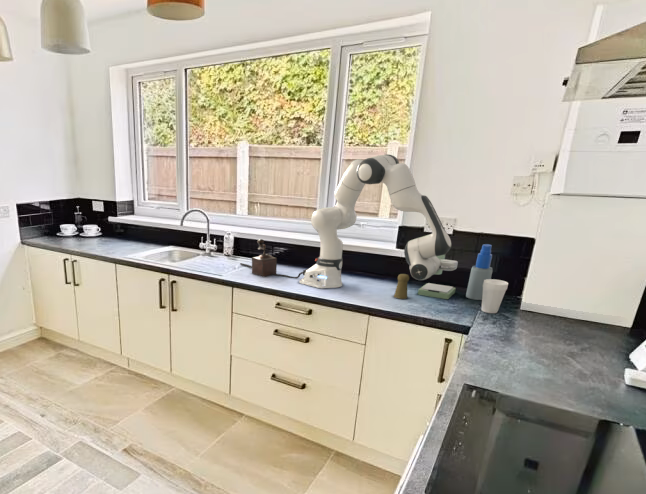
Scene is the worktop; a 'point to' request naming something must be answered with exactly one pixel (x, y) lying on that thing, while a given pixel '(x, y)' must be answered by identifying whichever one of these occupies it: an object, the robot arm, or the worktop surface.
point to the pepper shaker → (402, 286)
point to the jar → (440, 258)
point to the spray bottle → (480, 273)
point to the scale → (436, 291)
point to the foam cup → (493, 294)
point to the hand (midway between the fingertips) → (437, 260)
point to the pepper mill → (263, 262)
